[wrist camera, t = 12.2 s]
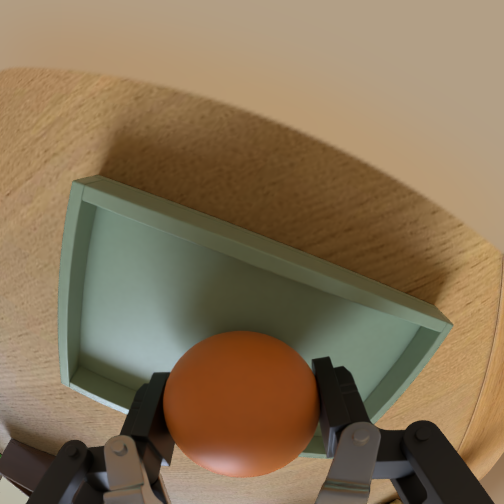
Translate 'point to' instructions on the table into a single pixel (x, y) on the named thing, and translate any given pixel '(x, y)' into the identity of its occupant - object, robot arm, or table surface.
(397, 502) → the seashell
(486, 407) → the table surface
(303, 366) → the orange
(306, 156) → the table surface
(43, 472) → the open box
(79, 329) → the tray
